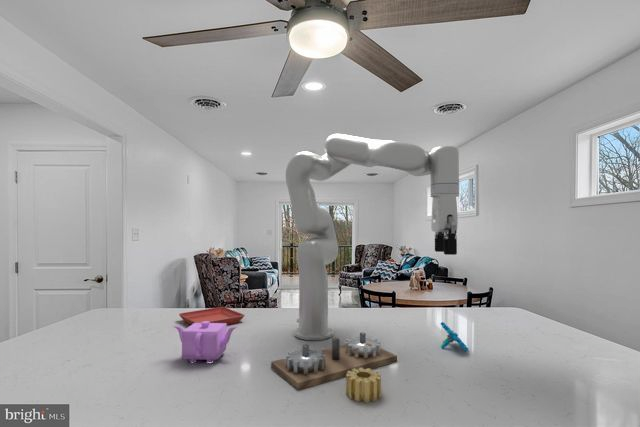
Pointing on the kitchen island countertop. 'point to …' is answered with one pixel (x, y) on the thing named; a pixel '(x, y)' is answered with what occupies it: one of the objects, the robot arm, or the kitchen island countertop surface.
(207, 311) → the plant saucer
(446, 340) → the gear
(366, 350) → the gear
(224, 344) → the teapot
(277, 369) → the gear board
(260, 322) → the kitchen island countertop surface
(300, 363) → the gear
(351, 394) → the brass gear
